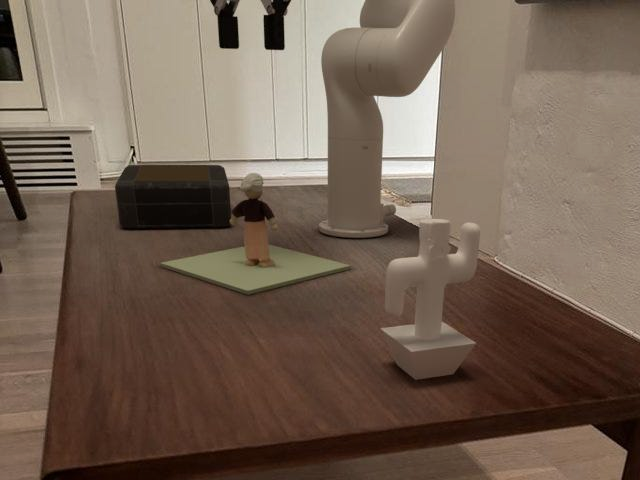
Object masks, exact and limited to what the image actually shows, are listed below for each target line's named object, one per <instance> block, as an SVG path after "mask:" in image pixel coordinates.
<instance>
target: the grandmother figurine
mask: <svg viewBox="0 0 640 480" xmlns="http://www.w3.org/2000/svg"><path fill="white" fill-rule="evenodd" d="M263 188H264V178H263V176H262V175H261V174H260V173H257V172H250V173H248V174H246V175H245V177H243V179H242V180H241V182H240V187H239V190H240V191H241V192H243V193H244V194H245V196H246V197H247V199H243V200H241V201H240V202H238V203H237V204H236V205H235V206H234V207H233V208H232V209H231V219H230V224H231V225H230V226H236V225H237V223H238V220H239V218H242V217H244V219H243V240H244V241H243V242H244V246H245V251H246V258H247V261H246V262H245V265H247V266H254V265H256V264H258V266H259V267H269V266H274V265H275V262H274V261H273V260H272V259H270V256H269V246H268V244H269V236H268V228H267V222H268V224H269V226H270V230H271V232H277V231H278V230H279V226H278V224H277V221H276V217H275V213H273V210H272V209H271V207H270V206H269V205H268V204H267V203H266V202H265V201H263V200H261V199H260V198H261V197H262V195H263ZM259 259H261V260H262V261H261V262H260V261H259Z"/></svg>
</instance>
